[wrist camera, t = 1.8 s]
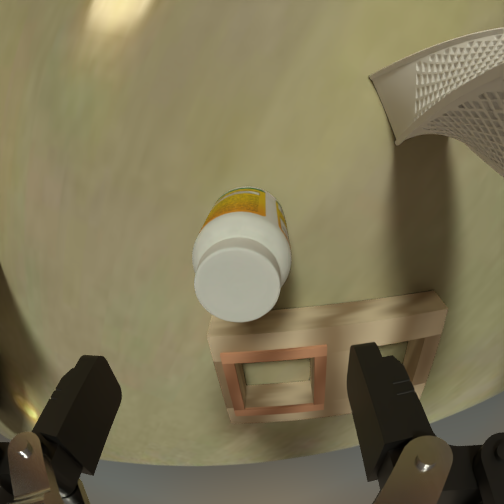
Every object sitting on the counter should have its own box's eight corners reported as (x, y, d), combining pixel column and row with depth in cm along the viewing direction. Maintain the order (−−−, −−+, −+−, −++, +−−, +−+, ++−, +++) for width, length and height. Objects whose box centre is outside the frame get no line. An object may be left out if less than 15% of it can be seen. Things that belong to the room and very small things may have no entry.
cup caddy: (433, 290, 25) (449, 310, 22) (411, 380, 30) (420, 401, 27) (212, 314, 27) (206, 339, 24) (233, 401, 32) (231, 425, 29)
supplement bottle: (299, 215, 23) (321, 281, 14) (253, 266, 25) (248, 351, 16) (240, 169, 22) (225, 208, 13) (196, 225, 23) (159, 294, 15)
